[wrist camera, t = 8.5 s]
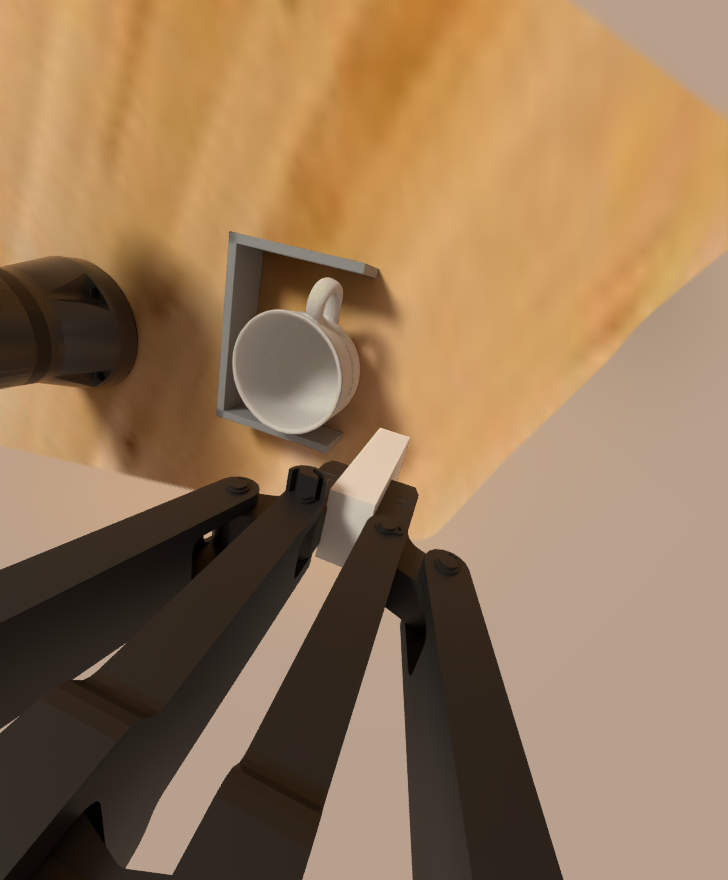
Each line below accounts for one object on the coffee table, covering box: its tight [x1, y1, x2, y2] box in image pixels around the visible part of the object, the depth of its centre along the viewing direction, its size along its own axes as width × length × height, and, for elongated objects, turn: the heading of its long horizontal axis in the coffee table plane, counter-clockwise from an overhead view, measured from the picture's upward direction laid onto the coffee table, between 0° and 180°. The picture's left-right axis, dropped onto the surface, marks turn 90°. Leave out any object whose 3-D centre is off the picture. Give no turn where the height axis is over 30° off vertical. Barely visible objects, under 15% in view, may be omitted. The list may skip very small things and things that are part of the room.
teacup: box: [232, 277, 360, 434], centre depth 34 cm, size 14×11×8 cm
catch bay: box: [216, 231, 379, 453], centre depth 36 cm, size 13×18×4 cm
